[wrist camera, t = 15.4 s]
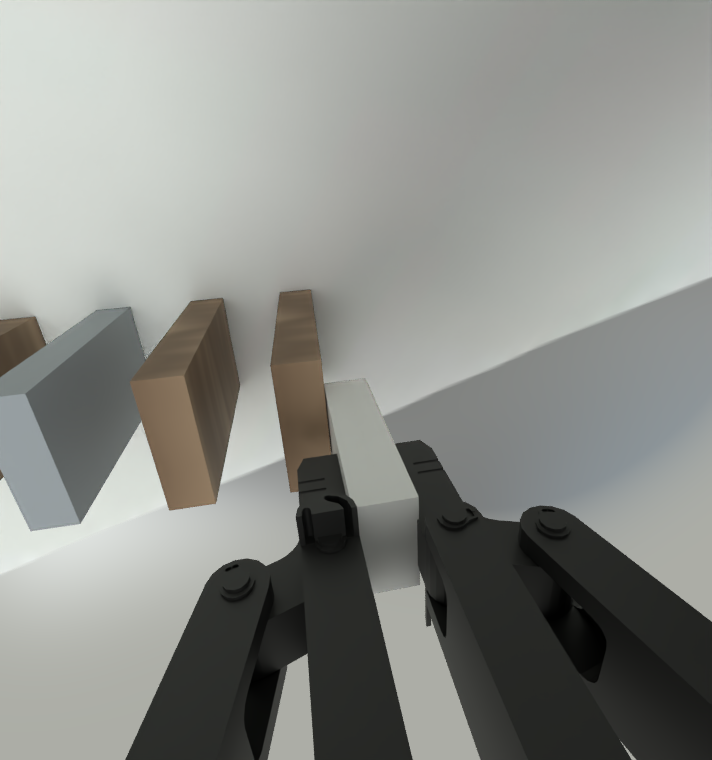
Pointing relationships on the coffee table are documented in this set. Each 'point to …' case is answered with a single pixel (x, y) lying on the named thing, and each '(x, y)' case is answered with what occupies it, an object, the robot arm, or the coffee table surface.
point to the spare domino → (69, 417)
